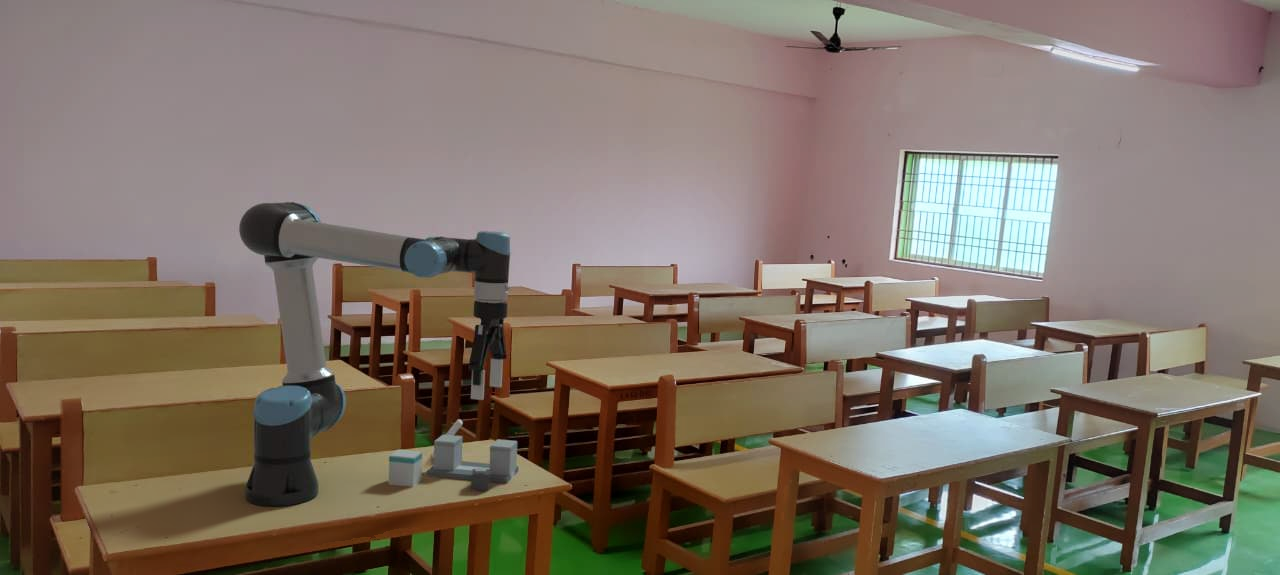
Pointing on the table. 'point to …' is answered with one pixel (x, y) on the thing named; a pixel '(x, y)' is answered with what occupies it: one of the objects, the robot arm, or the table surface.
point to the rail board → (453, 466)
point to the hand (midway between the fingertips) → (486, 392)
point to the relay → (480, 479)
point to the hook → (453, 429)
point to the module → (405, 468)
